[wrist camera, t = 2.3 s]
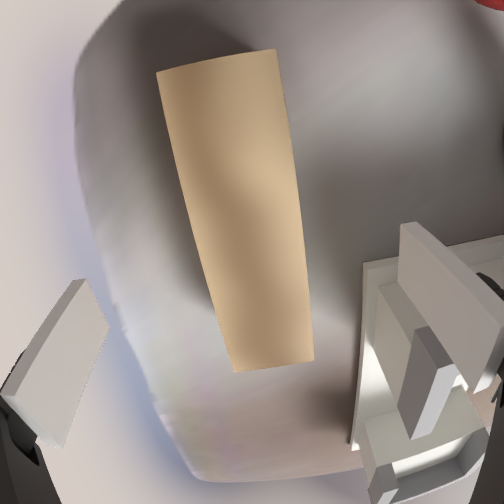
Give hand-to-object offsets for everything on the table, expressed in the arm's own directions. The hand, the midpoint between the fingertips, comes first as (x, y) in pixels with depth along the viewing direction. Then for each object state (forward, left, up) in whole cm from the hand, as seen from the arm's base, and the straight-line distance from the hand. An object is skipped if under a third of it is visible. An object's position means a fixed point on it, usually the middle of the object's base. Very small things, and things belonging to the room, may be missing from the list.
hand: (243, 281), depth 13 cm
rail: (0, 0, -8) cm, 8 cm away
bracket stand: (-14, +18, -8) cm, 24 cm away
